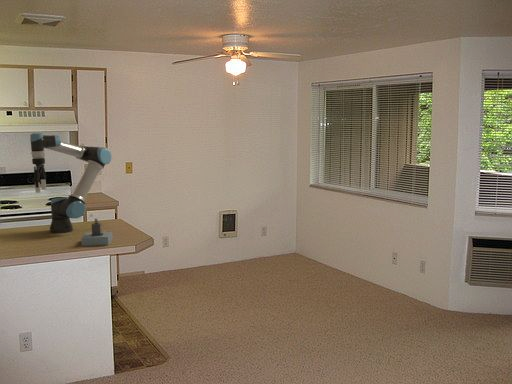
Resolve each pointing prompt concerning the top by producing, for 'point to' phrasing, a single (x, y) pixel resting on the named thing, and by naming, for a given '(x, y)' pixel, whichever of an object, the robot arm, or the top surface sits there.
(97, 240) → the socket
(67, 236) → the top surface
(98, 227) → the gray bottle
